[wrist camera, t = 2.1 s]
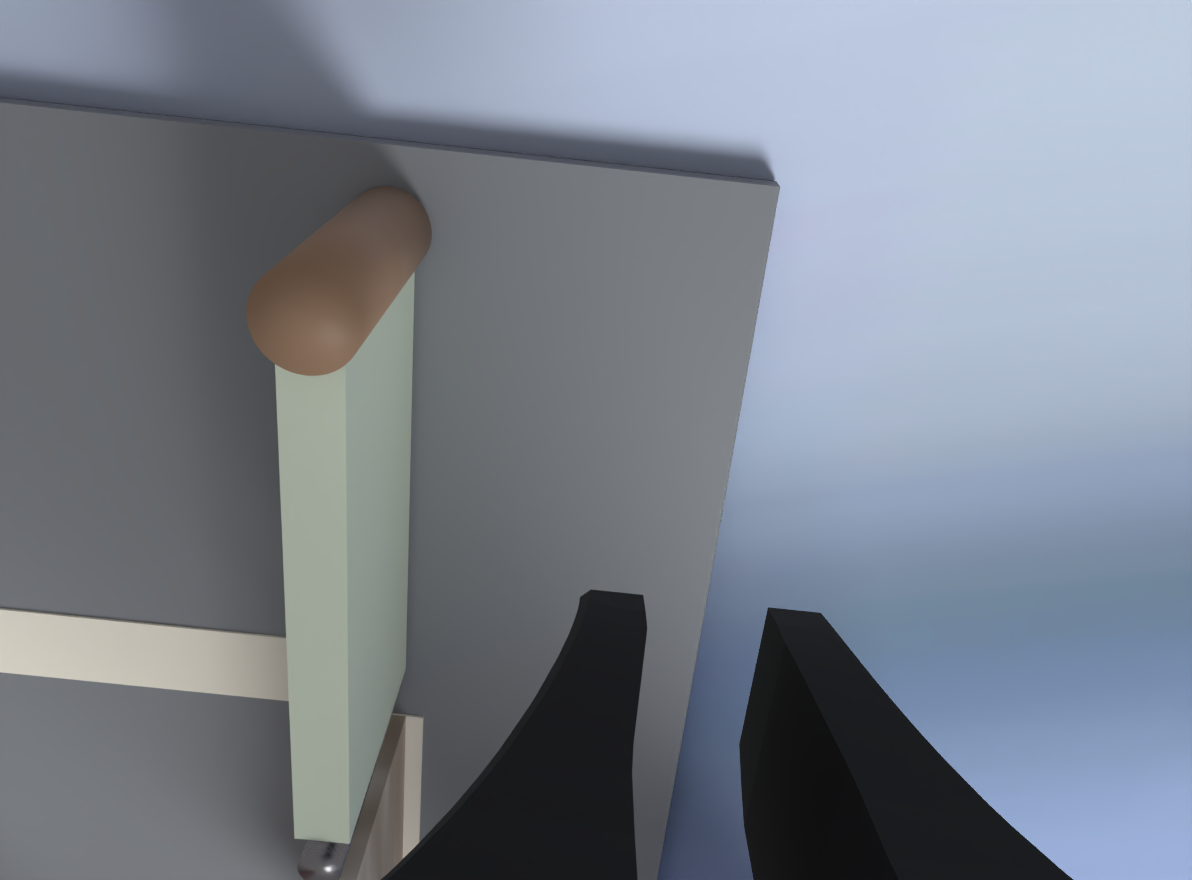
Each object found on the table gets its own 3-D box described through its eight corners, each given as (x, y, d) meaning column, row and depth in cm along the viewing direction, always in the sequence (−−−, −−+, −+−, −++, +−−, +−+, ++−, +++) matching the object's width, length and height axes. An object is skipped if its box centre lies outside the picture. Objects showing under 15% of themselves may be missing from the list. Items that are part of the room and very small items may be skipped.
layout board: (776, 181, 18) (780, 187, 18) (636, 977, 28) (636, 996, 27) (-262, 69, 18) (-287, 72, 18) (-48, 911, 28) (-61, 929, 27)
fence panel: (417, 701, 23) (363, 889, 18) (348, 694, 23) (276, 881, 18) (432, 191, 18) (363, 270, 13) (344, 181, 18) (243, 257, 13)
